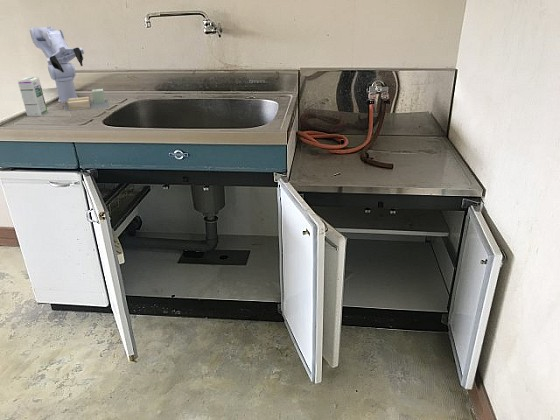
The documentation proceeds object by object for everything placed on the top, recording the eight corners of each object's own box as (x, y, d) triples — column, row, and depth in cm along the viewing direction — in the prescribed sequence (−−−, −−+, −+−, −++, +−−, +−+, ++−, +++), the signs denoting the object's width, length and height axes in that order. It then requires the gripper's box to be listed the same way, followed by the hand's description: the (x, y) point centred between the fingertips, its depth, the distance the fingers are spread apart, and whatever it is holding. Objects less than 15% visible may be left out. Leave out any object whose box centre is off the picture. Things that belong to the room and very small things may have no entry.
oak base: (69, 105, 200) (68, 98, 198) (89, 103, 202) (88, 96, 201) (69, 110, 193) (68, 102, 192) (90, 108, 196) (88, 100, 194)
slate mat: (66, 104, 204) (66, 103, 204) (107, 100, 209) (107, 99, 209) (65, 112, 192) (65, 111, 192) (109, 108, 197) (109, 106, 197)
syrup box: (41, 117, 186) (32, 79, 180) (26, 117, 186) (17, 80, 180) (48, 113, 191) (39, 76, 185) (33, 113, 191) (24, 77, 185)
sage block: (94, 101, 206) (91, 89, 204) (104, 100, 208) (102, 88, 206) (94, 103, 203) (92, 91, 200) (105, 102, 204) (103, 90, 202)
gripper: (39, 46, 190) (49, 64, 183) (75, 35, 194) (86, 52, 188) (46, 61, 196) (56, 79, 189) (81, 49, 200) (91, 67, 193)
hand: (71, 67), depth 189 cm, fingers open, 7 cm apart
